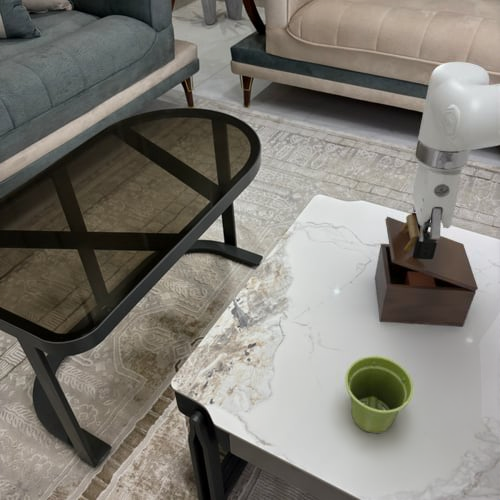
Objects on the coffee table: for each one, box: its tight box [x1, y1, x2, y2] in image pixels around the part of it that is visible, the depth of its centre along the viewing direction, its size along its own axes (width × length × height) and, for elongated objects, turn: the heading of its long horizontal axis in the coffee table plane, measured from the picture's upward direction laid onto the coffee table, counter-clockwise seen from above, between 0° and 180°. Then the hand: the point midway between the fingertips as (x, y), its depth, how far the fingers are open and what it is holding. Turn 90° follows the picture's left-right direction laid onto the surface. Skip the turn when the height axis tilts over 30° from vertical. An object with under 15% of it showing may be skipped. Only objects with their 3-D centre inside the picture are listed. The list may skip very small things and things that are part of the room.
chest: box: [374, 243, 477, 328], centre depth 91 cm, size 15×12×9 cm
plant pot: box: [344, 355, 414, 434], centre depth 74 cm, size 9×9×9 cm
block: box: [404, 271, 436, 287], centre depth 92 cm, size 5×5×5 cm
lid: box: [384, 213, 479, 292], centre depth 85 cm, size 16×12×5 cm
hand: (420, 244), depth 85 cm, fingers closed on lid, 6 cm apart
